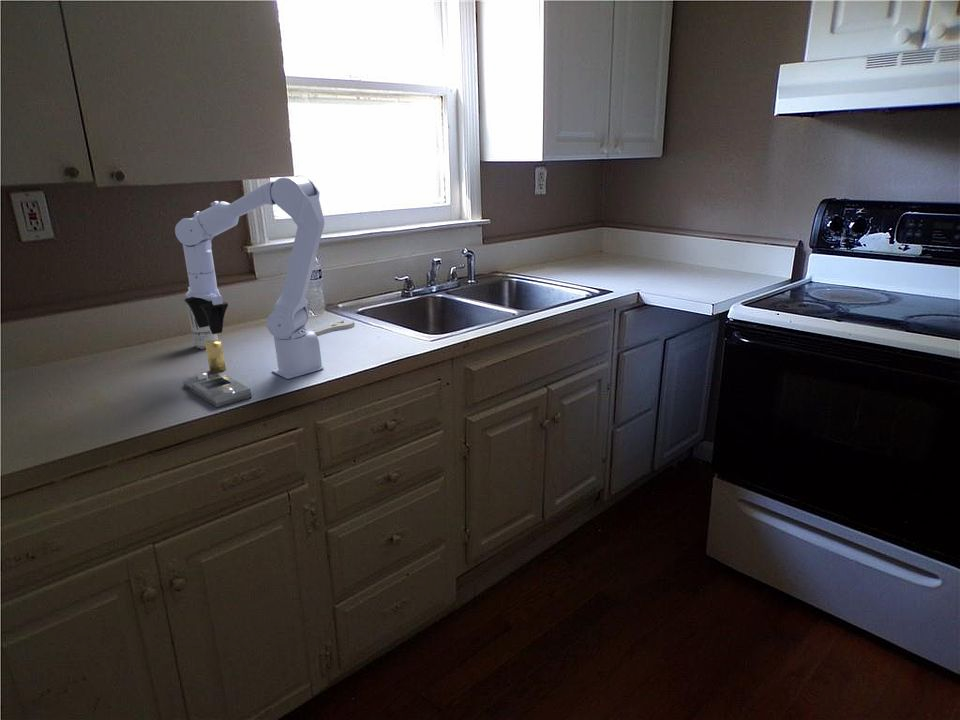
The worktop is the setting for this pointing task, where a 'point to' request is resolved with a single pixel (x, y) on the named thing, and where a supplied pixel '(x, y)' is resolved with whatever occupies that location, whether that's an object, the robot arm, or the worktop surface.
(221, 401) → the studded plate with cutout
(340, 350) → the worktop surface
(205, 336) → the energy drink can
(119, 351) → the worktop surface
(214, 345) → the brass pin
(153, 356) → the worktop surface
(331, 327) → the adjustable wrench
